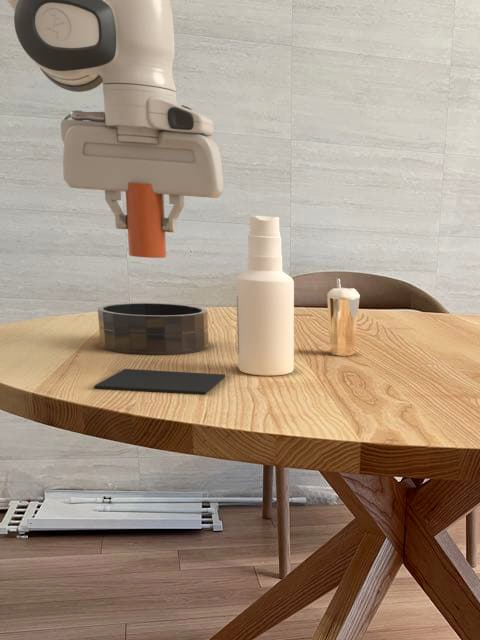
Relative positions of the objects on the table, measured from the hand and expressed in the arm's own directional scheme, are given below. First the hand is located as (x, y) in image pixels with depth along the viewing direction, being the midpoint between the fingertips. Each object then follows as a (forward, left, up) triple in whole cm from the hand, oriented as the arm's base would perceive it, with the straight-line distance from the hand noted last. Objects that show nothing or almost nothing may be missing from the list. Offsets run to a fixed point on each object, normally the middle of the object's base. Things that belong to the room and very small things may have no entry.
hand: (146, 230), depth 110 cm
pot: (0, 0, -15) cm, 15 cm away
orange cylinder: (0, 0, -3) cm, 3 cm away
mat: (+8, -24, -15) cm, 30 cm away
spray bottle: (+18, -14, -15) cm, 28 cm away
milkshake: (+26, +2, -15) cm, 30 cm away
